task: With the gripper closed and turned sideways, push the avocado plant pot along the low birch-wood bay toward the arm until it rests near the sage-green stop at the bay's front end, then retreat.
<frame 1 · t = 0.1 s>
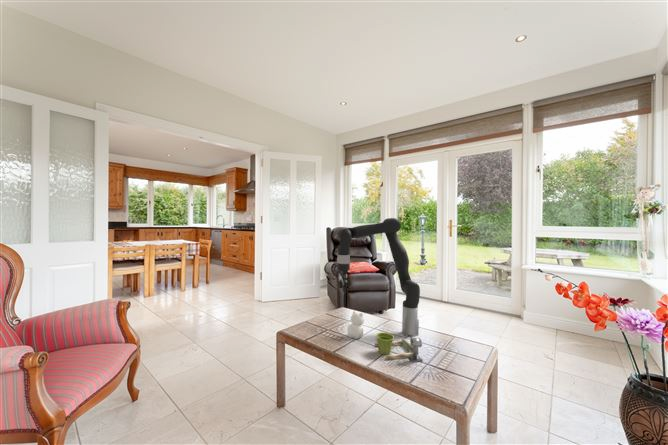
hand: (342, 289, 157), 29 cm above the table, fingers open, 8 cm apart
winch post: (415, 359, 135), on the table
plant pot: (384, 352, 142), on the table
cat figurine: (355, 337, 160), on the table
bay: (395, 351, 143), on the table
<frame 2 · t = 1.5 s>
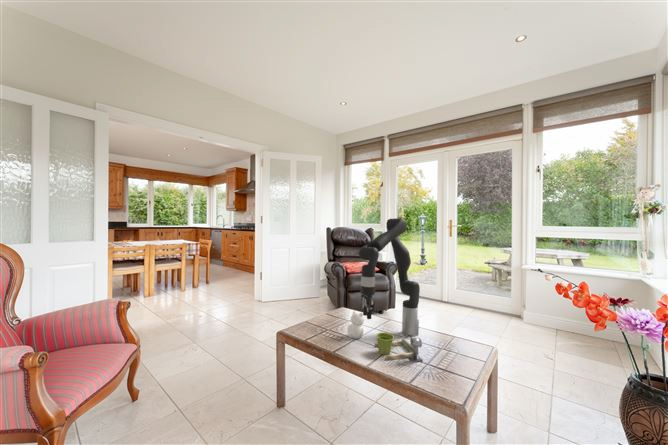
hand: (367, 316, 140), 19 cm above the table, fingers open, 5 cm apart
nothing on the table moved.
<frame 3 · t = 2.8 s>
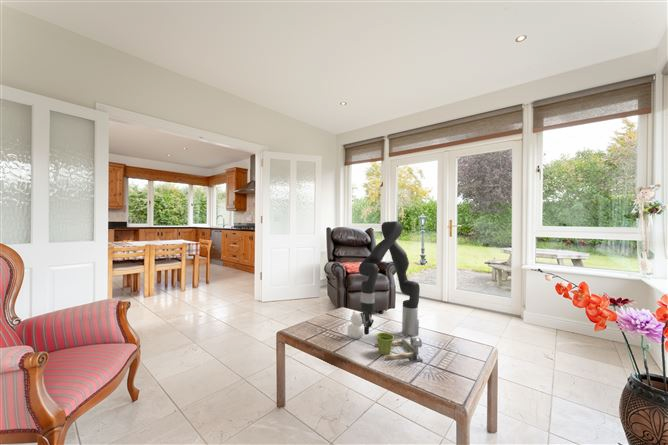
hand: (366, 333, 139), 11 cm above the table, fingers closed
nothing on the table moved.
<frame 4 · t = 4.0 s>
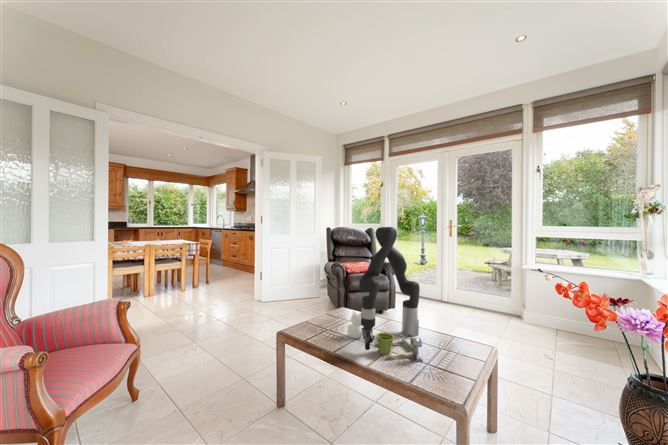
hand: (367, 349, 139), 2 cm above the table, fingers closed
nothing on the table moved.
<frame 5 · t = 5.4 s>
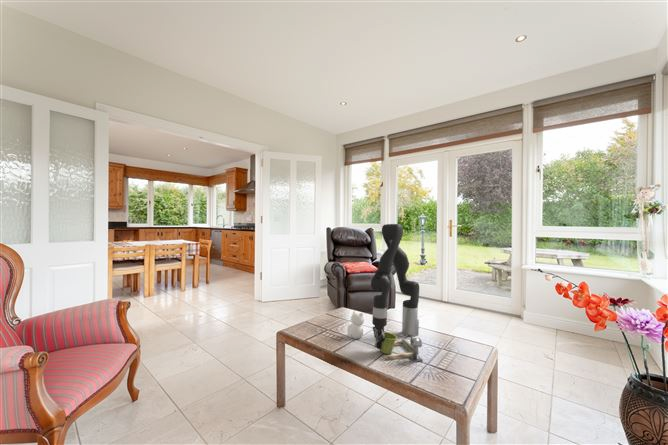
hand: (378, 348, 141), 2 cm above the table, fingers closed
plant pot: (385, 352, 142), on the table, touching gripper
everything else where it was.
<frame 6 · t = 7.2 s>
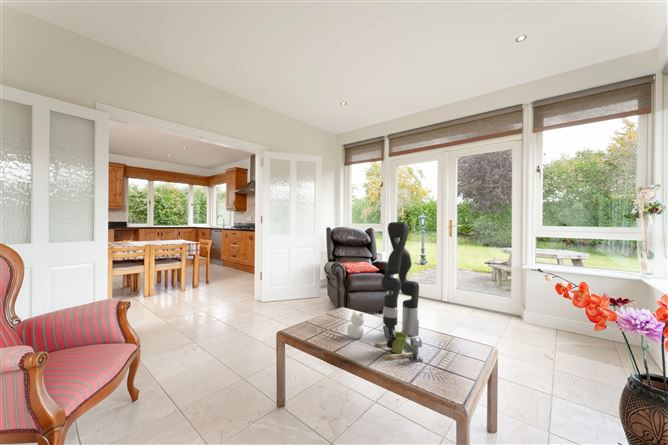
hand: (389, 347, 142), 3 cm above the table, fingers closed
plant pot: (396, 351, 143), on the table, touching gripper
everything else where it was.
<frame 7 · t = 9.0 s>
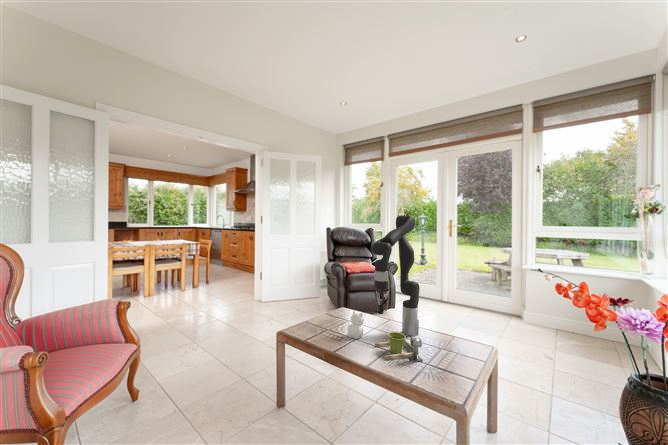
hand: (380, 311, 143), 21 cm above the table, fingers closed
plant pot: (396, 352, 143), on the table
everything else where it was.
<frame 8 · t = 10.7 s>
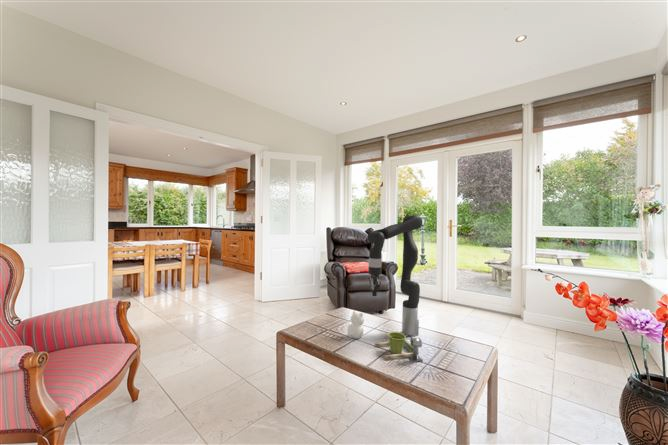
hand: (374, 295, 154), 27 cm above the table, fingers closed
nothing on the table moved.
at the end: plant pot inside the target area (2.1 cm from its centre), on the table; plant pot moved 6.7 cm from its start; plant pot tilted 0° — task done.
